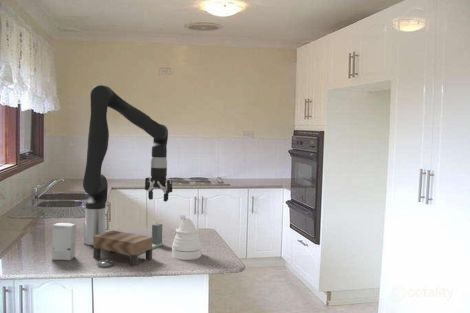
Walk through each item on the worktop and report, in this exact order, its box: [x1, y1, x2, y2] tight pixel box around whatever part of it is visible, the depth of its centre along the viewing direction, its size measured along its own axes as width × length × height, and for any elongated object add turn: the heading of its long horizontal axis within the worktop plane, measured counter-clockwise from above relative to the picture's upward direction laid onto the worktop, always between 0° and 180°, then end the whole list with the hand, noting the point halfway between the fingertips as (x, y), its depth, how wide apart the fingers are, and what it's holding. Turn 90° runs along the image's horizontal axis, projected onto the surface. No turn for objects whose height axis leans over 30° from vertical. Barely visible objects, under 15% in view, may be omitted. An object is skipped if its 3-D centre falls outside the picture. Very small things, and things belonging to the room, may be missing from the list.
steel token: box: [97, 259, 114, 268], centre depth 191 cm, size 6×6×2 cm
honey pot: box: [171, 214, 202, 261], centre depth 207 cm, size 13×13×18 cm
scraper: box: [137, 222, 164, 256], centre depth 215 cm, size 20×4×10 cm, turn 153°
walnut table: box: [93, 230, 153, 267], centre depth 200 cm, size 22×12×10 cm, turn 63°
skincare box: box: [51, 222, 77, 261], centre depth 198 cm, size 8×6×15 cm
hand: (158, 200), depth 221 cm, fingers open, 8 cm apart
